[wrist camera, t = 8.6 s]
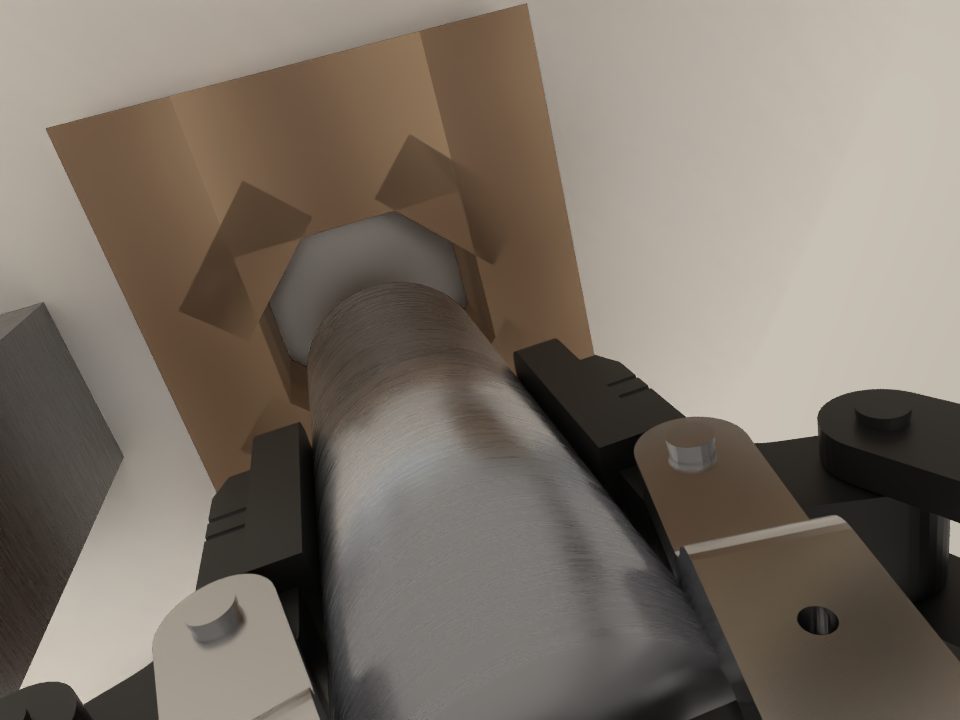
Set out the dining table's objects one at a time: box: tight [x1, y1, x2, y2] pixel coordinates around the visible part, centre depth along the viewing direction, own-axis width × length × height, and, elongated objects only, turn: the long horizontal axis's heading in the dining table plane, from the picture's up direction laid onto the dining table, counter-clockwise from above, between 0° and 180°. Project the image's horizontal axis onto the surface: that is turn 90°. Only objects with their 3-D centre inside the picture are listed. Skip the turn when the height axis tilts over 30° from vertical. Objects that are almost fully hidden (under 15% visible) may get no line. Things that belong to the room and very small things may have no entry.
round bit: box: [307, 282, 736, 720], centre depth 10 cm, size 4×4×10 cm
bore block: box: [46, 3, 594, 492], centre depth 18 cm, size 10×12×3 cm
